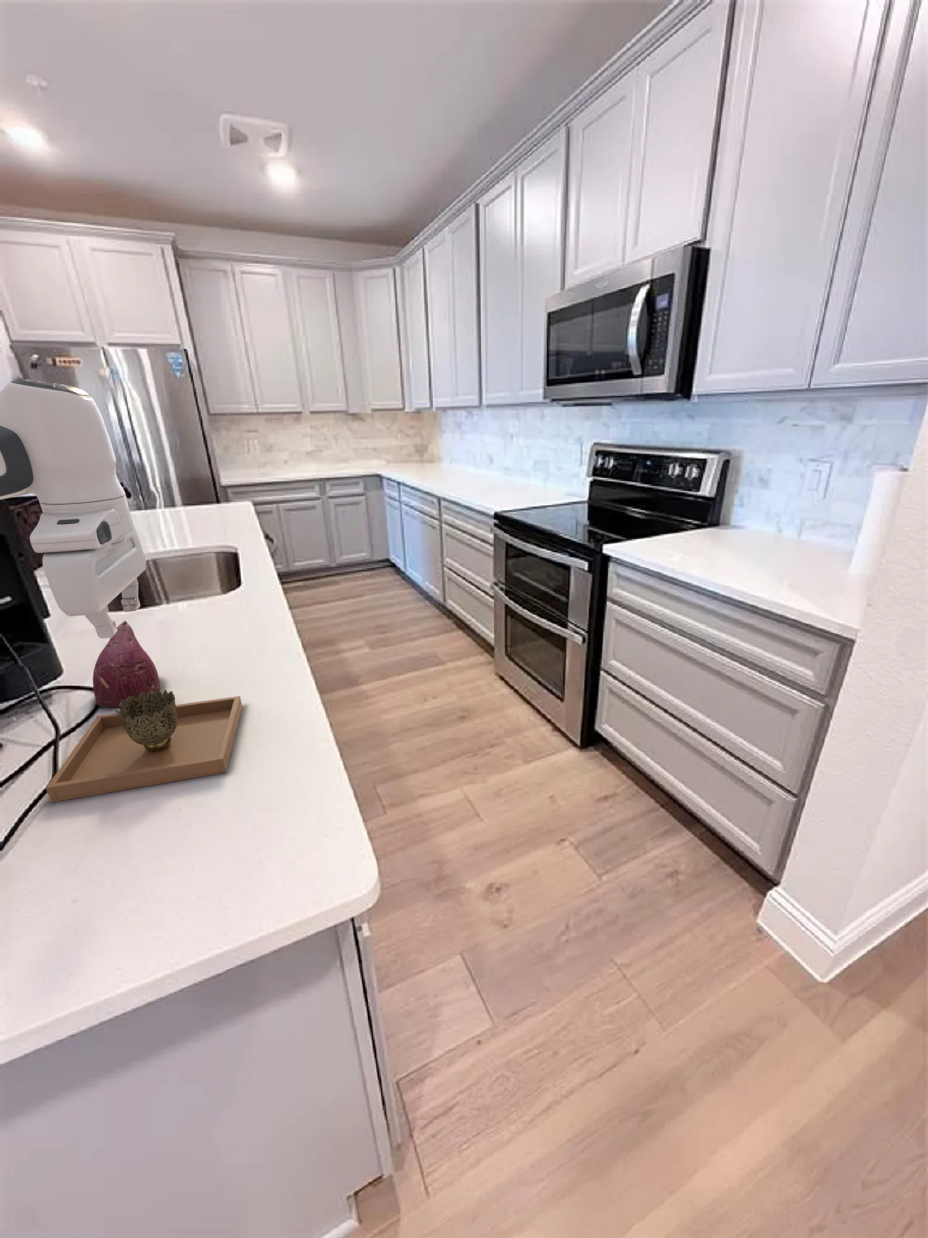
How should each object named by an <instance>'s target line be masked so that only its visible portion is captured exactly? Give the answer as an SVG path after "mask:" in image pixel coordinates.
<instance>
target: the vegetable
mask: <svg viewBox="0 0 928 1238" xmlns="http://www.w3.org/2000/svg"><path fill="white" fill-rule="evenodd" d="M116 628H117V630H118V631H117V632H116V634H115V635H114V636H113V637H111V638H109V640H108V642H107V643H106V645H105V646H104V647H103V649H102V650H101V652H99V655H98V657H97V660H96V661H95V665H94V668H93V674H92V689H93V694H94V699H95V702H96V705H97V706H98V707H100V708H120V706H119V704H120V702H124V703H125V701H126V699H127V698H128V697H129V696H132V697H135V698H137V697H139V696H138V695H139V694H140V693H142V694H143V695H144V696H145V697H146V695H147V693H148V691H149V690H151V691H153V692H155V690H156V689H157V690H159V691H160V692H161V682H160V677H159V676H160V675H159V673H158V669H157V667H156V665H155V663H154V661H153V659H152V658H151V656H150V655H148V653H147V651H145V649H144V648H143V647H142V646H141V644H140V642H139V641H138V639H137V637H136V635H135V633H134V630H133V628H132V626H131V625H130V624H129V622H128V621H127V620H123V621H122V622H121V623H120V624H119V625H118V626H116Z"/></svg>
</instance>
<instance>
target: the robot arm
mask: <svg viewBox="0 0 928 1238" xmlns="http://www.w3.org/2000/svg"><path fill="white" fill-rule="evenodd" d="M102 415H103V414H102V413H101V411H100V409H99V407H98V405H97V403H96V401H95V400H94V399H93V397H92V396H91V395H90V394H89V393H87V392H86V391H85V390H83V389H82V388H78V387H76V386H73V385H68V384H63V383H58V382H50V381H41V380H38V379H37V380H35V379H27V378H26V379H24V378H23V379H22V378H20V379H15V380H11V381H9V382H7V384H5V385H4V387H3V389H1V391H0V500H5V499H9V498H14V497H21V496H25V495H28V494H34V495H35V496H36V498H37V499H38V502H39V505H40V508H41V511H42V513H41V514H40V516H39V520H38V523H37V524H36V526H35V527H34V529H33V530H32V532H31V533H30V535H29V542H30V545H31V548H32V550H33V551H34V553H37V554H43V553H44V554H43V555H42V567H43V571H44V575H45V577H46V580H47V583H48V585H49V588H50V591H51V593H52V595H53V598H54V600H55V603H56V604H57V607H58V608H59V609H60V611H62V612H63V613H64V615H66V616H67V617H81V616H85V618H86V619H87V620H88V621H89V622H90V623H91V624H92V626H93V627H94V629H95V631H96V635H97V637H98V638H99V639H110V638H111V637H113V636H114V635H115V634H116V632H117V631H118V630H117V623H116V620H115V619H113V620H112V619H111V617H110V615H109V607H108V605H109V604H110V603H111V602H113V600H114V599H115V598H117V596H119V595H120V594H121V598H122V599H121V600H120V602H121V606H122V609H123V611H124V612H126V613H129V612H136V611H137V610H138V609H140V607H141V603H140V599H139V581H138V577H140V575H141V574H142V573H143V572H144V571H146V569H147V559H146V555H145V552H144V549H143V546H142V544H141V543H142V542H141V540H140V537H139V534H138V532H137V530H136V527H135V525H134V520H133V517H132V513H131V509H130V506H129V502H128V499H127V498H128V497H127V495H126V492H125V490H124V487H123V486H122V485H121V483H120V481H119V479H118V475H117V458H116V454H115V451H114V446H113V444H112V440H111V437H110V435H109V431H108V429H107V425H106V422H105V421H104V418H103V416H102Z"/></svg>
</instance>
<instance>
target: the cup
mask: <svg viewBox="0 0 928 1238" xmlns="http://www.w3.org/2000/svg"><path fill="white" fill-rule="evenodd" d="M138 696H139V697H137V698H135V697H132V696H129V697H128V698H127V699H126V701H125V703H124V702H120V704H119V706H120V707H119V710H118V709H116V710H115V713H117V714H118V716H119V718H120V720H121V722H122V724H123V726H124V728H125V730H126V732H127V734H128V735H129V737H130V738H131V739H132V740H133V741H134V742H136V743H138V744H141V745H144V748H145V749H146V750H147V751H149V752H157V751H161V750H163V749H165V748H167V747H168V746H169V745H170V743H171V740H172V738H171V735H172V734H173V733H174V731H175V729H176V726H177V712H176V705H177V704H176V696H175V694H174V692H173V691H172V690H170V691H169V692H168V691H167V689H165V688H164V690H163V691H162V692H161V690H160V691H159V690H157V689H156V690H155V692H153V691H151V690H149V691H148V693H147V695H146V697H145V696H144V695H143V694H142V693H140V694H139V695H138Z"/></svg>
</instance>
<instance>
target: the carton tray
mask: <svg viewBox="0 0 928 1238" xmlns="http://www.w3.org/2000/svg"><path fill="white" fill-rule="evenodd" d="M176 712H177V726H176V729H175V731H174V733H173V734H172V735H171V738H172V740H171V743H170V745H169V746H168V747H167V748H165V749H163V750H161V751H157V752H149V751H147V750H146V749H145V748H144V745H141V744H138V743H136V742H134V741H133V740H132V739H131V738H130V737H129V735H128V734H127V732H126V730H125V728H124V726H123V724H122V722H121V720H120V718H119V716H118V714H117V712H114V713H107V714H101V715H96V717H95V719H94V720H93V722H92V723H91V725H90V726H89V727H88V728H87V730H86V732H85V733H84V734H83V736H82V737H81V739H80V740H79V741H78V742H77V744H76V745H75V747H74V748H73V750H72V751H71V752H70V754H69V755H68V757H66V759H65V761H64V762H63V763H62V765H61V766H60V767H59V769H58V771H56V773H55V775H54V776H53V777H52V779H51V780H50V782H49V783H48V784H47V785H46V787H45V790H46V793H47V794H48V797H49V799H50V802H51V803H55V802H57V803H58V802H62V801H69V800H73V799H80V798H85V797H91V796H98V795H102V794H108V793H109V794H110V793H114V792H120V791H127V790H132V789H136V788H137V789H138V788H143V787H149V786H155V785H161V784H166V783H172V782H177V781H183V780H190V779H195V778H201V777H208V776H213V775H219V774H225V773H227V771H228V767H229V764H230V763H229V762H230V759H231V755H232V751H233V747H234V743H235V739H236V736H237V731H238V727H239V724H240V719H241V715H242V712H243V703H242V699H241V695H237V696H236V695H235V696H229V697H223V698H215V699H208V700H207V699H206V700H201V701H195V702H194V701H193V702H188V703H179V704H176Z"/></svg>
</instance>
